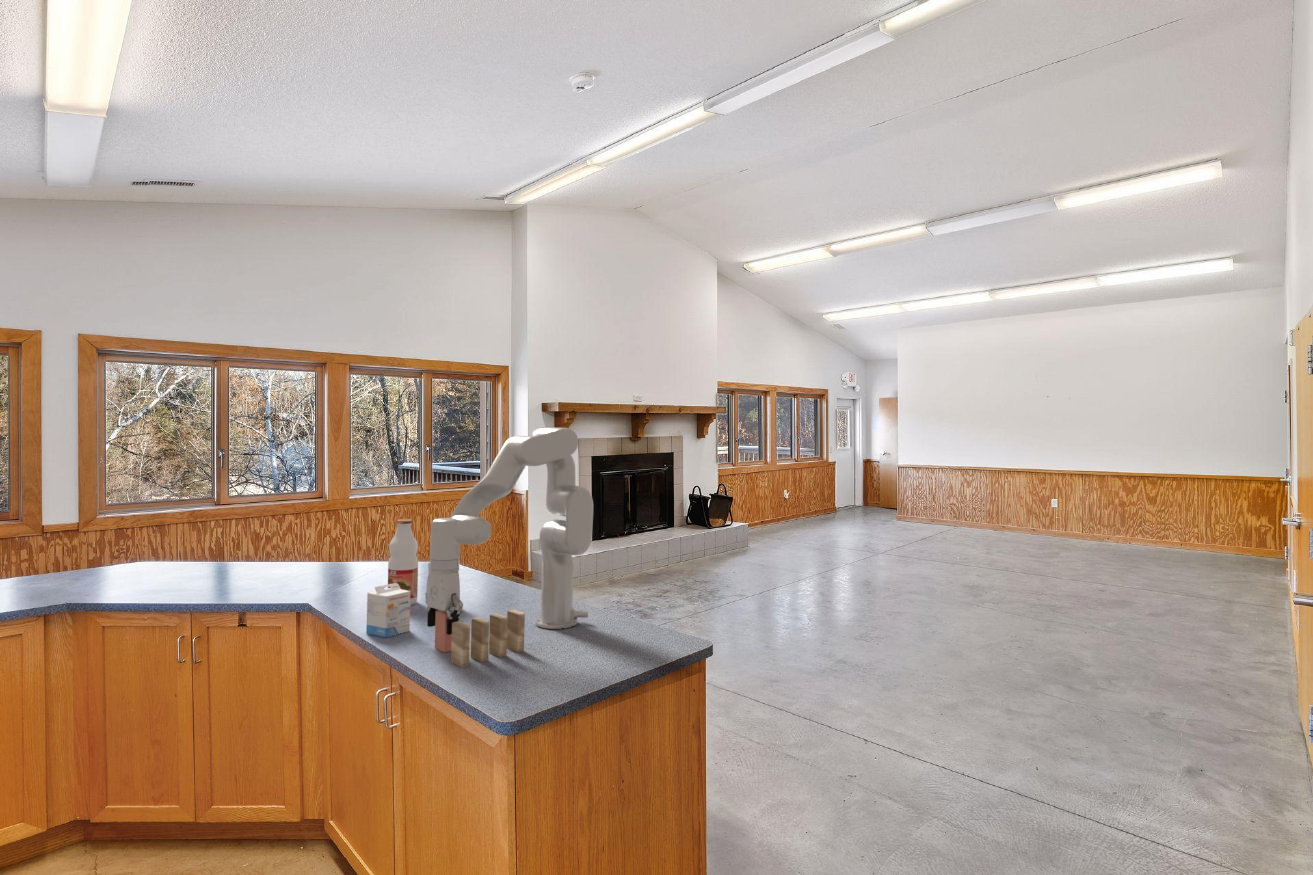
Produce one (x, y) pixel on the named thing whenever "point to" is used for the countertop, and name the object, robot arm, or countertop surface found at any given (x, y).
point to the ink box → (388, 611)
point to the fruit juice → (404, 559)
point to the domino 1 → (442, 632)
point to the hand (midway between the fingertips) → (442, 629)
